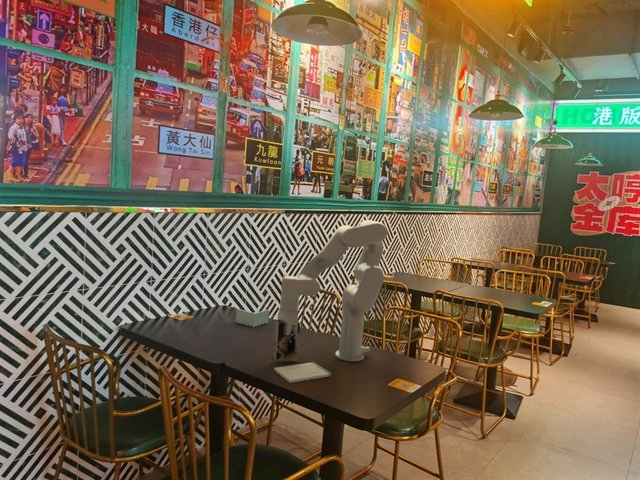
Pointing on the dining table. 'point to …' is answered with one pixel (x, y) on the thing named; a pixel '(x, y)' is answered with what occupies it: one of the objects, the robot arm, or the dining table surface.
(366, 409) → the dining table surface
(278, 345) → the coffee box
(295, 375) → the notepad
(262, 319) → the l-shaped corner panel
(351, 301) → the robot arm
